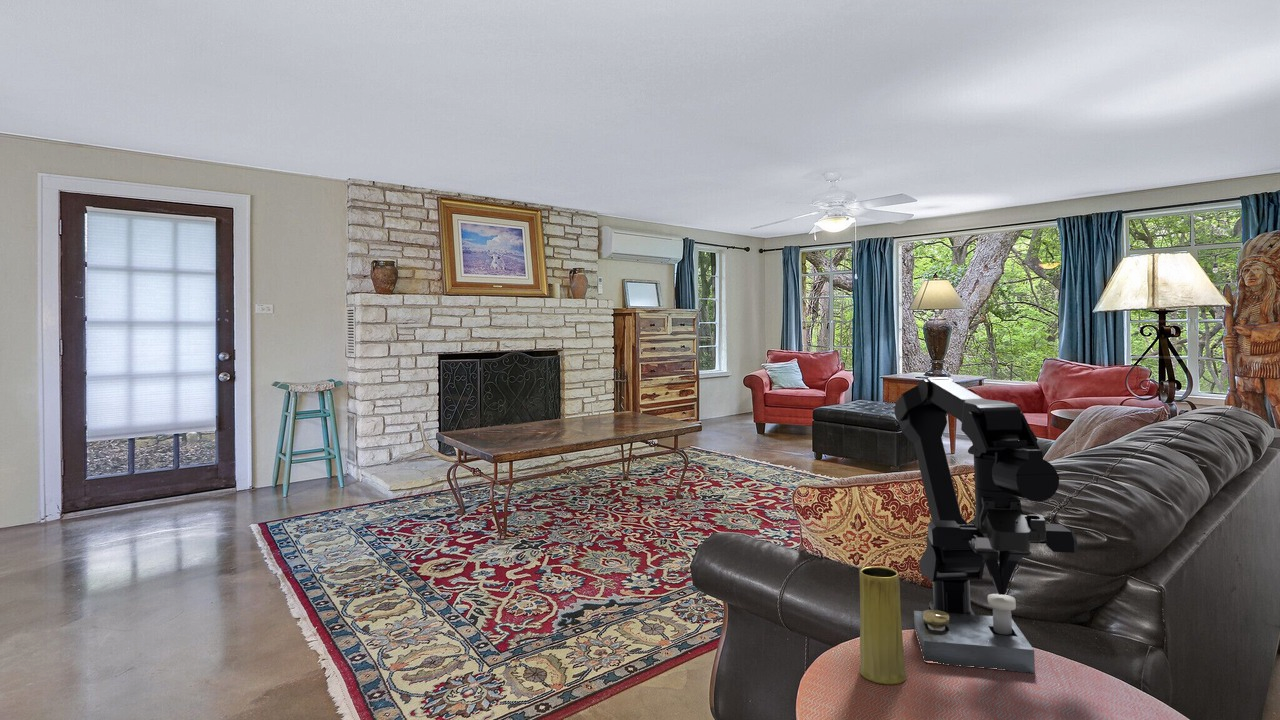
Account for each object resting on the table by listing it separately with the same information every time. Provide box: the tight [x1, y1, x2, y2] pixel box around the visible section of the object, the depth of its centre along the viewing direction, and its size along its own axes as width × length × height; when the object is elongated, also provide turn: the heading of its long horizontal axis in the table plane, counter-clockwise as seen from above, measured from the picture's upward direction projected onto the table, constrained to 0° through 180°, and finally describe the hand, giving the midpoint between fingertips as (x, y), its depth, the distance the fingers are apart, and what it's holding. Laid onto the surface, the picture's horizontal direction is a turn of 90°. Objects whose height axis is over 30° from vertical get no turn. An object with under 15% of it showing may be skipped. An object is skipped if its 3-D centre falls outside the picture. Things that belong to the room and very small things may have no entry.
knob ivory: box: [987, 593, 1017, 635], centre depth 95 cm, size 4×4×5 cm
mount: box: [913, 610, 1036, 674], centre depth 96 cm, size 12×14×3 cm
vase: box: [859, 565, 907, 686], centre depth 90 cm, size 6×6×14 cm
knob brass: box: [922, 609, 949, 631], centre depth 98 cm, size 4×4×5 cm
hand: (1000, 593), depth 95 cm, fingers closed
